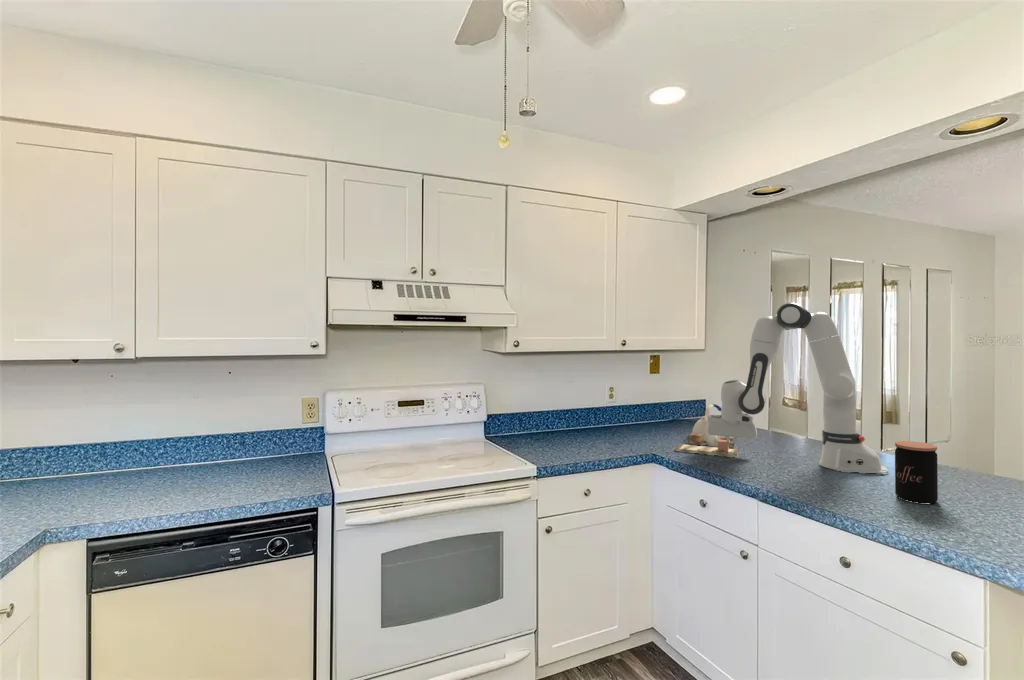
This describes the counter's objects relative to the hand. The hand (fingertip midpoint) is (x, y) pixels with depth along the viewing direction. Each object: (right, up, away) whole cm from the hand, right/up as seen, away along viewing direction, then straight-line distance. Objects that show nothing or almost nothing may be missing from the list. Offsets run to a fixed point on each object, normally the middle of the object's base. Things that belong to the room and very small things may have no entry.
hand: (732, 446), depth 218 cm
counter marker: (-4, -2, +1) cm, 4 cm away
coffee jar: (+32, -4, -61) cm, 69 cm away
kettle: (+6, -4, +35) cm, 36 cm away
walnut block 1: (-8, -4, +22) cm, 24 cm away
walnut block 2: (+4, -4, +15) cm, 16 cm away
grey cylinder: (-1, -4, +19) cm, 20 cm away
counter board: (-9, -4, +5) cm, 11 cm away
